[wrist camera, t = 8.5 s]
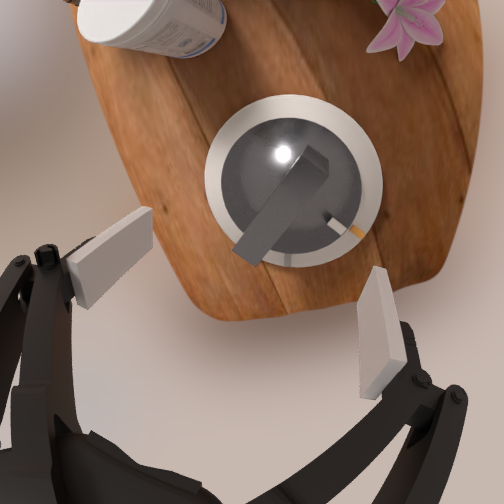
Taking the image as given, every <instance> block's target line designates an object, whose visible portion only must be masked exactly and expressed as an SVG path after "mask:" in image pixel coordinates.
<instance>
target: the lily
mask: <svg viewBox="0 0 504 504" xmlns="http://www.w3.org/2000/svg"><path fill="white" fill-rule="evenodd" d="M445 2H446V0H376V1H372V3H378V4H379V5H380V7H381V9H382V10H383V12H384V13H385V14H386V16H387V17H388V20H387V22H386V24H385V25H384V27H383V28H382V30H381V31H380V32H379V33H378V35H377V36H376V37H375V38H374V39H373V41H372V42H371V43H370V44H369V46H368V47H367V49H366V52H367V53H375V52H380V51H384V50H388V49H391V48H393V47H395V46H396V45H397V51H398V58H399V61H403V59H404V58H405V57H406V56H407V55H408V53H409V52H410V50H411V49H412V47H413V45H414V43H415V41H417V42H419V43H422V44H426V45H440V44H441V43H443V33H442V29H441V26H440V24H439V22H438V20H437V19H436V18H435V17H434V16H433V15H435V14H436V13H437V12H438V11H439V10H440V9H441V7H442V6H443V5H444V3H445Z"/></svg>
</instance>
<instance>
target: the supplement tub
mask: <svg viewBox="0 0 504 504" xmlns="http://www.w3.org/2000/svg"><path fill="white" fill-rule="evenodd" d="M77 23H78V28H79V31H80V33H81V34H82V36H83V37H84V38H85V39H86V40H88V41H90V42H92V43H97V44H101V45H104V46H111V47H118V48H125V49H132V50H138V51H144V52H149V53H155V54H160V55H165V56H170V57H175V58H191V57H195V56H198V55H200V54H202V53H204V52H206V51H208V50H209V49H210V48H212V47H213V46H214V45H215V44H216V43H217V42H218V40H219V39H220V38H221V36H222V35H223V33H224V30H225V27H226V23H227V14H226V9H225V7H224V5H223V3H222V2H221V1H220V0H81V1H80V4H79V8H78V14H77Z"/></svg>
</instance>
